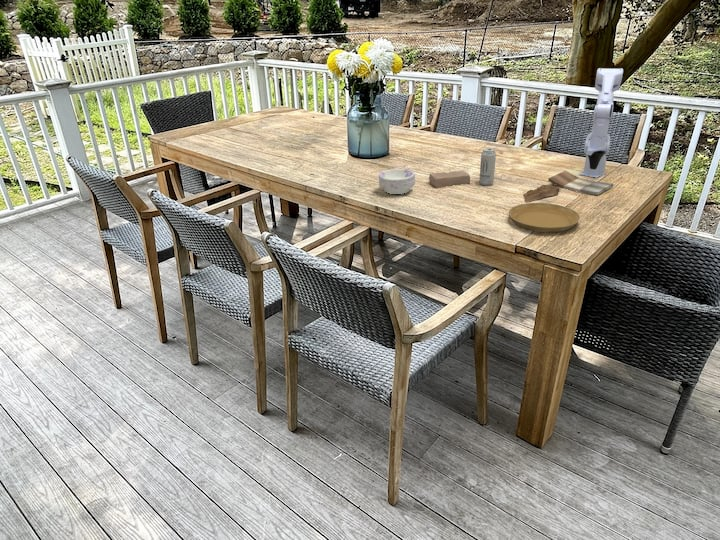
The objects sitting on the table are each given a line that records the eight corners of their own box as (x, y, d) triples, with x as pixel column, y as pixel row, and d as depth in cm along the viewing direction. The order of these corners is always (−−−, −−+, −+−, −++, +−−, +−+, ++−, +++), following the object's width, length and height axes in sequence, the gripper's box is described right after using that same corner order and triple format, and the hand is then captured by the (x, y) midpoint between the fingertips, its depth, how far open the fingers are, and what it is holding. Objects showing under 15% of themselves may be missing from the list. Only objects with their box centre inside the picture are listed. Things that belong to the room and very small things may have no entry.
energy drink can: (476, 184, 223) (478, 150, 216) (484, 180, 227) (486, 147, 220) (488, 187, 219) (491, 152, 212) (496, 183, 223) (499, 149, 216)
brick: (462, 178, 232) (463, 168, 230) (470, 184, 225) (471, 173, 222) (428, 183, 228) (428, 173, 226) (435, 189, 221) (435, 178, 219)
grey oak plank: (595, 184, 217) (596, 181, 217) (612, 186, 213) (613, 183, 212) (580, 192, 209) (580, 189, 209) (597, 195, 204) (597, 192, 204)
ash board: (579, 180, 222) (579, 177, 222) (595, 183, 218) (595, 180, 217) (563, 188, 214) (563, 185, 213) (579, 192, 209) (579, 189, 209)
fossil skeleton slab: (547, 184, 221) (548, 181, 220) (571, 190, 213) (571, 187, 213) (511, 199, 207) (511, 196, 206) (534, 206, 199) (535, 203, 199)
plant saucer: (509, 208, 198) (510, 200, 197) (576, 212, 192) (577, 204, 190) (506, 233, 178) (507, 224, 176) (581, 239, 171) (582, 229, 170)
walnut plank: (562, 188, 214) (563, 186, 213) (547, 180, 218) (548, 178, 217) (578, 180, 223) (579, 177, 222) (564, 172, 226) (565, 170, 225)
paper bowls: (373, 189, 223) (373, 171, 219) (405, 183, 228) (405, 166, 224) (388, 200, 211) (387, 181, 207) (421, 194, 215) (421, 175, 212)
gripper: (597, 130, 210) (591, 162, 216) (580, 137, 201) (575, 171, 207) (614, 132, 205) (608, 166, 211) (598, 140, 196) (592, 174, 203)
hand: (593, 168), depth 209 cm, fingers closed
